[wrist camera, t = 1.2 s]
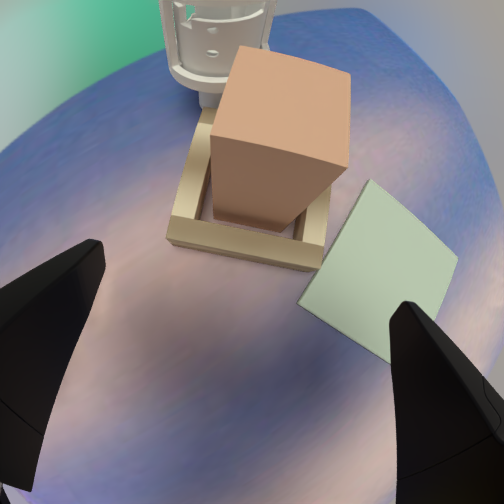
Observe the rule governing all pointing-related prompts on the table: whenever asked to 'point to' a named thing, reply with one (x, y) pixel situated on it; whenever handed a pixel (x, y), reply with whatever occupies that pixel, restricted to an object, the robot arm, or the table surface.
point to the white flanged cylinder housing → (212, 40)
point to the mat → (378, 271)
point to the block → (277, 138)
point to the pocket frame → (235, 239)
